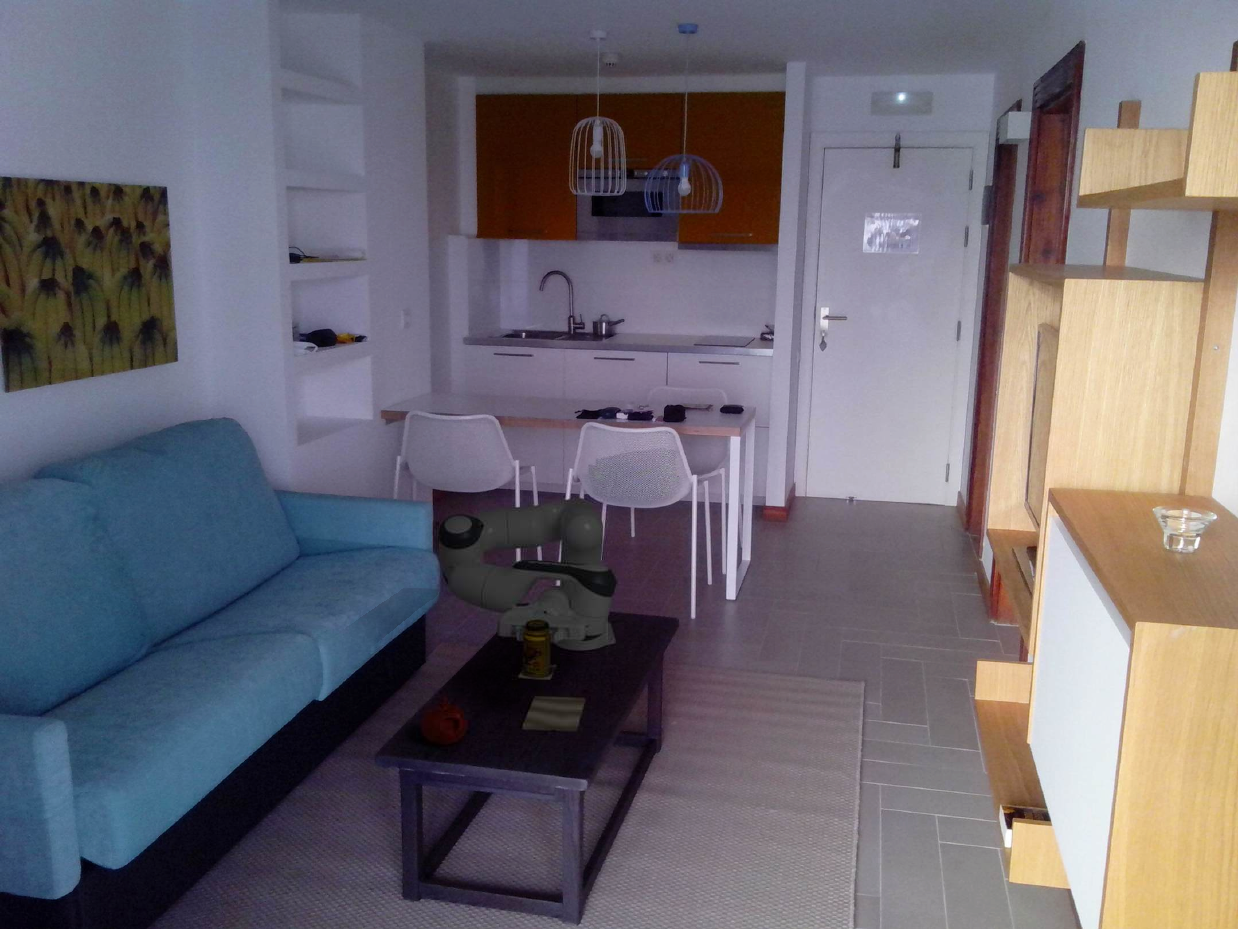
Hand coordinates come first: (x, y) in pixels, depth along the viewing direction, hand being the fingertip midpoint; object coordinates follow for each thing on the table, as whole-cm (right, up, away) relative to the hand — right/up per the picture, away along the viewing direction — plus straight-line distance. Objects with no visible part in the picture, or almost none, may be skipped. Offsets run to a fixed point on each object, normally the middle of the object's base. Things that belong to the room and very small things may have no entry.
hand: (536, 638), depth 233 cm
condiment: (0, -8, +3) cm, 9 cm away
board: (+4, -19, +6) cm, 20 cm away
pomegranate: (-20, -21, -5) cm, 29 cm away
